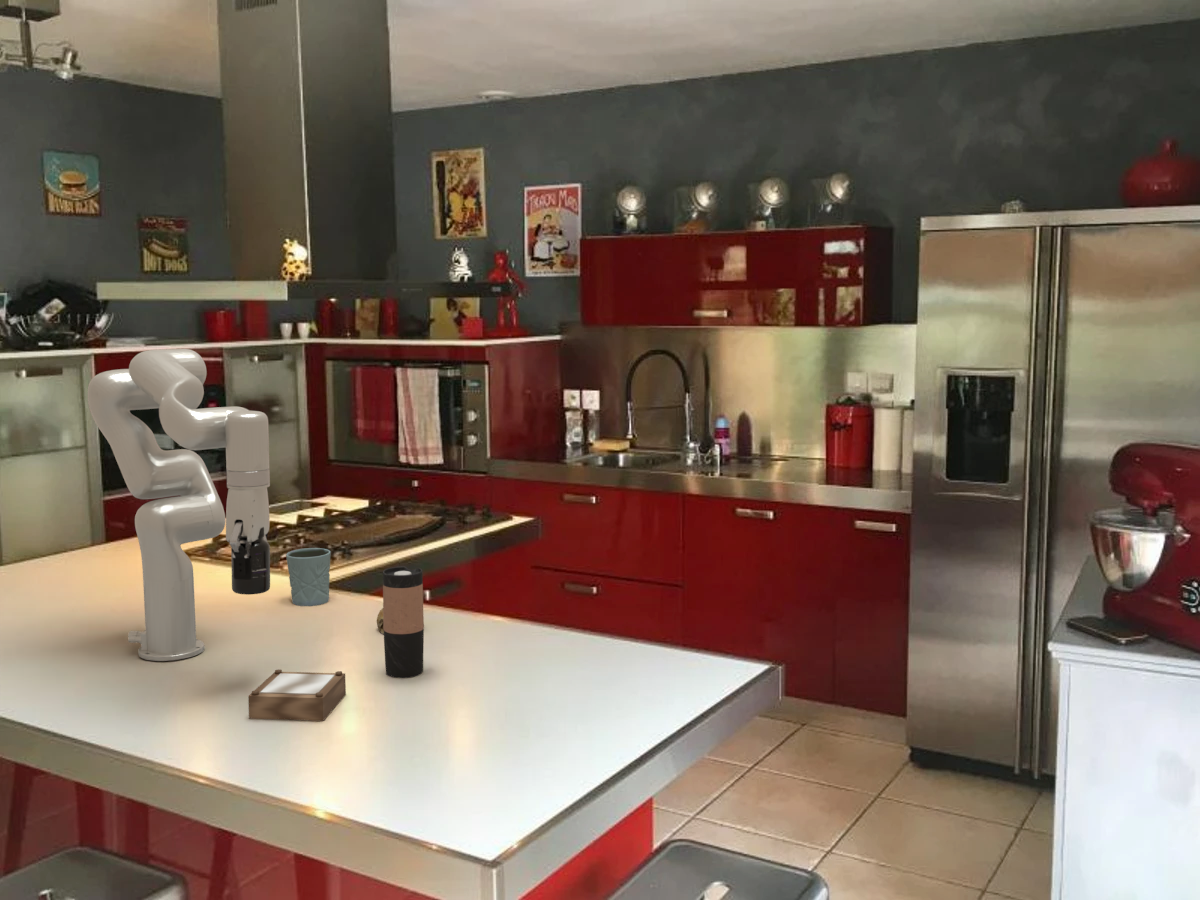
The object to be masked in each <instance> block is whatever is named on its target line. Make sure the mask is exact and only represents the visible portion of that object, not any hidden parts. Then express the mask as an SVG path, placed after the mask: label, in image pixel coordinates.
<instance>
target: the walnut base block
mask: <svg viewBox="0 0 1200 900" xmlns="http://www.w3.org/2000/svg"><path fill="white" fill-rule="evenodd" d="M346 688H347V686H346V673H345V672H344V673H343V671H339V670H338V671H335V672H311V671H310V672H306V671H305V672H301V671H283V670H282V669H275V670H274V672H273V673H272V674H271V675H270V676H269V677H268V678H266V679H265V680H264V681H263V682H262V683H261V684H259V685H258V686H257V687H256V688H255V689H254V690H252V691H251V693H250V694H249V695H248V696H247V697H248V702H247V703H248V719H253V720H255V719H256V720H261V719H262V720H282V721H283V720H285V721H287V720H289V721H290V720H291V721H317V722H318V721H319V722H320V721H321V722H322V721H325V719H327V718H328V716H329V715H330V714H331V713H332V711H334V709H335V708H336V707H337V706H338V704H339V703H341V701H342V700H343V698H344V697H345V696H346V695H347V691H346V690H347V689H346Z"/></svg>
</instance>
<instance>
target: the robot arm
mask: <svg viewBox="0 0 1200 900" xmlns="http://www.w3.org/2000/svg"><path fill="white" fill-rule="evenodd" d="M207 372H208V371H207V366H206V363H205V360H204V359H203V358H202V356H201V355H200V353H198V352H197V351H194V350H192V349H190V348H169V349H168V348H166V349H163V348H162V349H149V350H143V351H142V352H138V353H137V354H136V355H135V356H134V357H133V358H132V359H131V360H130V363H129V365H128V368H120V369H118V368H117V369H111V370H106V371H102V372H99V373H98V374H96V375H95V376H94V377H92V378H91V379H90V380H89V381H90V382H89V384H88V387H87V403H88V408H89V411H90V415H91V416H92V419H93V421H94V422H95V425H96V427H97V428H98V429H99V430H100V432H101V433H102V435H103V436H104V438H105V439H106V440H107V443H108V444H109V445H110V449H111V451H112V454H113V456H114V457H115V460H116V462H117V463H116V464H117V465H118V468H119V470H120V473H121V476H122V478H123V479H124V483H125V484H126V487H127V488H128V491H129V492H130V494H131V496H132V497H134V498H136V499H139V500H151V501H147V502H146V503H144V504H143V505H141V506H140V507H139V508H138V509H137V511H136V514H135V516H134V527H135V531H136V536H137V540H138V543H139V544H138V545H139V550H140V555H141V566H142V567H141V568H142V582H143V583H142V585H143V604H144V605H143V606H144V625H145V629H144V630H143V631H139V630H129V631H128V633H127V638H128V643H130V644H133V643H134V644H136V643H139V644H140V647H139V648H138V651H137V653H138V656H139V657H140V658H141V659H143V660H147V661H150V662H151V661H154V662H169V661H178V660H184V659H188V658H191V657H194V656H198V655H199V654H201V653H203V652H204V651H205V643H204V641H203V640H201V639H199V638H197V629H196V628H197V627H196V626H197V625H196V603H195V601H196V600H195V577H194V576H195V575H194V566H193V563H192V561H191V558H190V557H189V556H188V555H187V553H186V552H185V551H184V550H183V549H182V547H181V545H184V544H188V543H193V542H198V541H200V542H201V541H204V540H208V539H209V540H210V539H212V538H216V537H218V536H219V535H221V534H222V532H224V529H225V541H227V542H228V543H229V545H230V548H231V549H230V550H232V552H233V554H232V557H233V563H234V578H235V579H243V580H250V579H251V578H252V558H250V557H249V556H250V549H251V543H252V542H254V541H256V540H257V539H258V536H259V532H260V529H261V528H262V527H264V537H263V540H265V541H267V542H268V539H267V538H268V534H269V532H270V505H269V503H270V502H269V501H270V500H269V493H268V488H269V487H270V486H271V479H270V478H271V477H270V475H271V474H270V439H269V437H270V436H269V435H270V434H269V433H270V432H269V417H268V415H267V414H266V413H265V412H262V411H259V410H250V409H248V408H246V407H241V406H238V405H237V406H234V405H233V406H221V407H220V406H219V407H217V406H216V407H204V408H198V407H200V405H201V403H202V401H203V398H204V395H205V391H204V383H205V381H206V378H207V374H208V373H207ZM150 409H151V410H152V409H154V410H155V409H158V418H159V421H160V424H161V427H162V429H163V431H164V433H165V434H166V435H167V436H168V437H169V438H170V439H172V440H173V441H174V442H175V443H177V444H178V445H179V446H180V447H182V448H181V449H180V448H178V449H170V450H169V449H168V450H165V449H162V448H161V447H160V446H159V444H158V442H157V440H156V437H155V435H154V434H155V433H153V431H152V429H151V428H150V427H149V426H148V425H147V424H146V423H145V422H144V421H143V420H141V419H140V418H139V417H137V416H135V415H134V414H132V413H131V411H136V410H137V411H138V410H139V411H141V410H150ZM220 448H222V449H223V448H225V460H226V461H225V463H226V466H225V467H226V469H225V470H226V488H227V489H228V490H227V498H226V507H225V509H226V512H225V510H224V505H223V503H222V500H221V498H220V496H219V494H218V491H217V489H216V487H215V484H214V481H213V480H212V477H211V475H210V473H209V470H208V468H207V466H206V463H205V462H204V460H203V459H202V457H201V456H200V455H199V454H197V452H195V451H202V450H203V451H204V450H212V449H220ZM240 538H247V541H243V540H240ZM241 545H246V547H245V549H244V548H243V546H241Z"/></svg>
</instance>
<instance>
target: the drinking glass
mask: <svg viewBox="0 0 1200 900" xmlns="http://www.w3.org/2000/svg"><path fill="white" fill-rule="evenodd" d="M285 556H286V558H285V559H286V564H287V570H288V574H289V576H288V577H289V586H290V588H291V589H290V594H291V603H292V604H293V605H294V604H295V606H300V607H317V606H321V605H324V604H326V603H329V601H330V579H331V577H330V569H331V550H330V549H328V548H324V547H323V548H320V547H309V548H299V549H293V550H291V551H287V553H286V554H285Z"/></svg>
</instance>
